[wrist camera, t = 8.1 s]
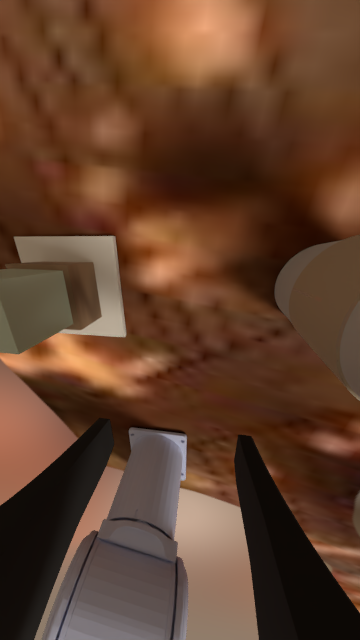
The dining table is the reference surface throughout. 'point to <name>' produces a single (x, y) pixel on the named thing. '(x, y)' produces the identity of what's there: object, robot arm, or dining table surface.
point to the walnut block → (74, 289)
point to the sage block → (31, 307)
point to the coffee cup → (326, 304)
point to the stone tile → (105, 267)
